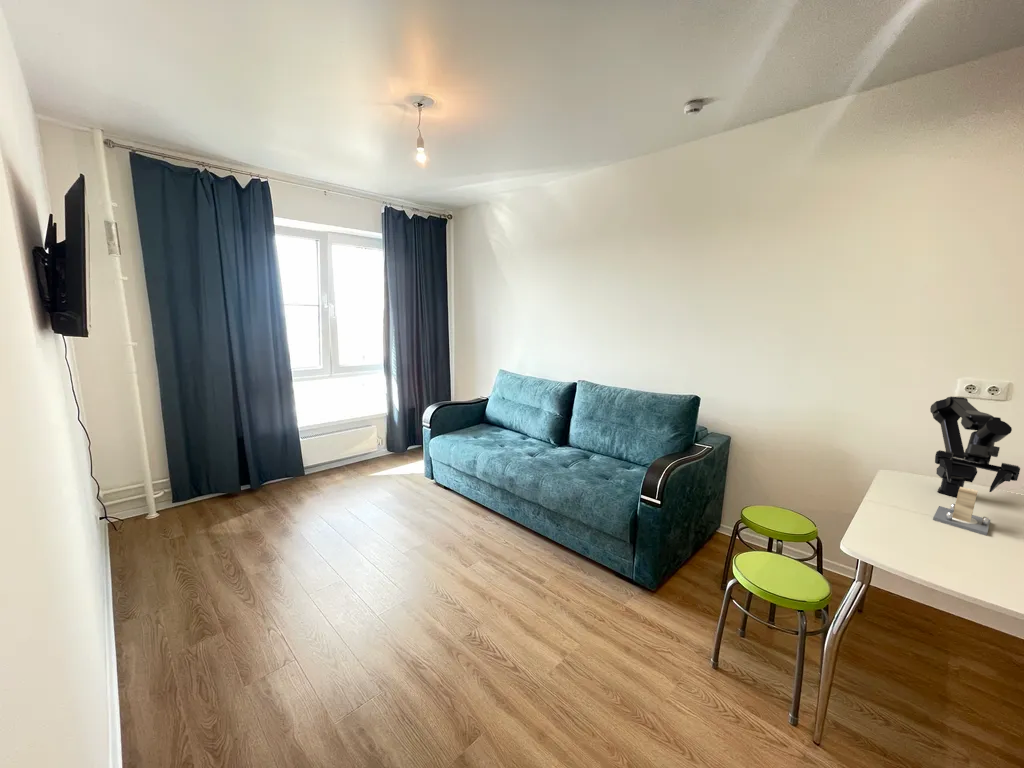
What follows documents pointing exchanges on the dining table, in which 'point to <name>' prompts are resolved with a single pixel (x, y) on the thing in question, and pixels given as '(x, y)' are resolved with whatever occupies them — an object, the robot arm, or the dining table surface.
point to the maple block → (965, 504)
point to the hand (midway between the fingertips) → (969, 486)
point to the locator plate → (975, 524)
